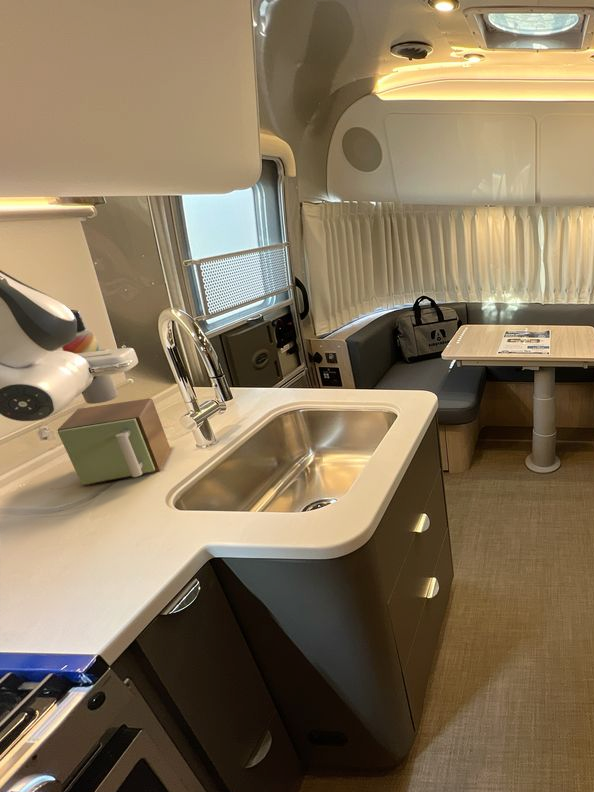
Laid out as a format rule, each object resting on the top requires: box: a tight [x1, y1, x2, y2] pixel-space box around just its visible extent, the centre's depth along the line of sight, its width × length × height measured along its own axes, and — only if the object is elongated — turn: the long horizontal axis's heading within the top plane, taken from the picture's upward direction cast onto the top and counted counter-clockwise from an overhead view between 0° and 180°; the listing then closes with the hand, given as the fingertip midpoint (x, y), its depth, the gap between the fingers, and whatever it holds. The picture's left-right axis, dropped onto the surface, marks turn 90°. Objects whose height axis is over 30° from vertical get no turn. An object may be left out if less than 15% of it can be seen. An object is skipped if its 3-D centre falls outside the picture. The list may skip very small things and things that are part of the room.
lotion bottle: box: [61, 309, 119, 405], centre depth 103 cm, size 6×6×20 cm
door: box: [57, 418, 155, 486], centre depth 104 cm, size 13×5×13 cm, turn 115°
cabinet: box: [57, 397, 171, 487], centre depth 111 cm, size 14×12×14 cm
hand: (86, 355), depth 104 cm, fingers closed on lotion bottle, 5 cm apart
